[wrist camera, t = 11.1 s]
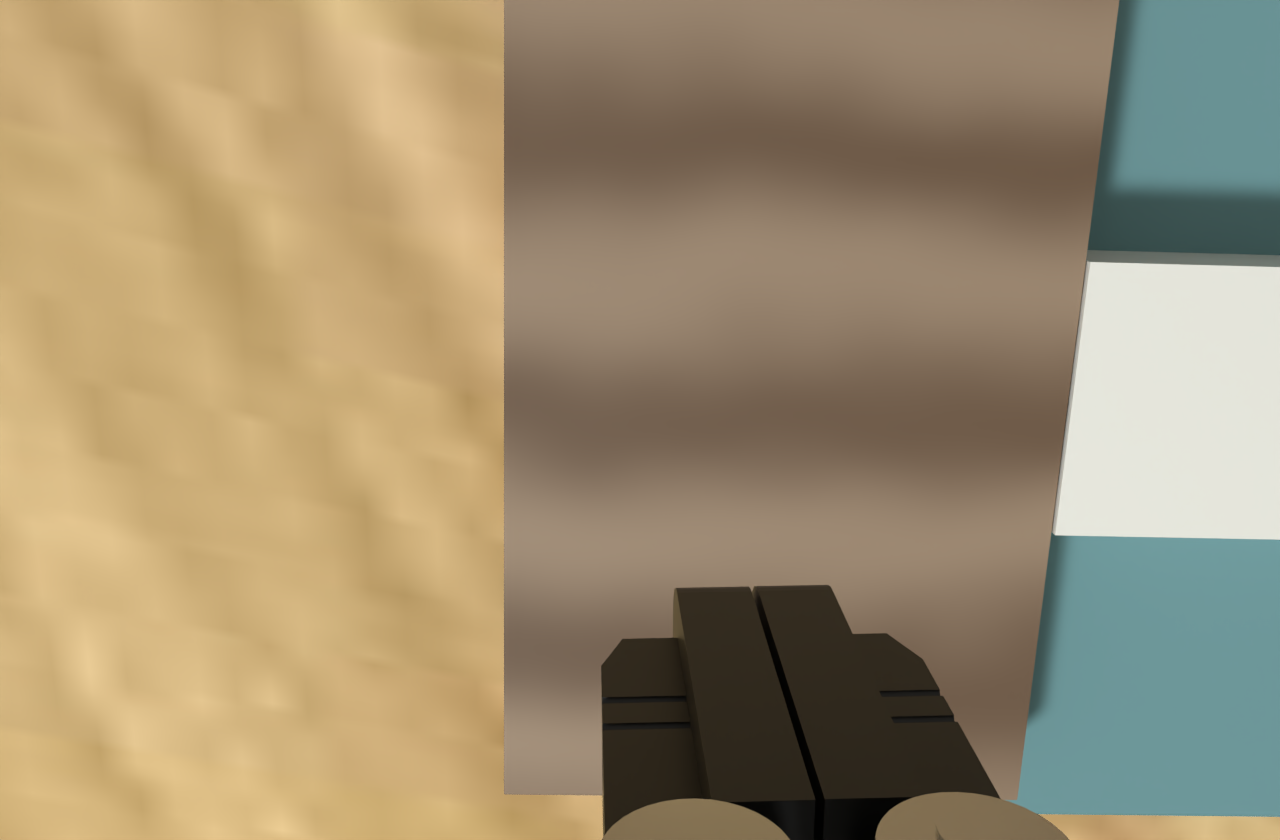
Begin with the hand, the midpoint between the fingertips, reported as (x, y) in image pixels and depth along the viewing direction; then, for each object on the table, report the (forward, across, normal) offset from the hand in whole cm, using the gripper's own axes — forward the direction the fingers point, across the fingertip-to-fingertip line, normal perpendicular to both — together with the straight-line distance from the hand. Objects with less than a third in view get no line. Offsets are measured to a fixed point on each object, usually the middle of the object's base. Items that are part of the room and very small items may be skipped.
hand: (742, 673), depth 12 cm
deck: (+21, -4, +3) cm, 21 cm away
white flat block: (+20, -16, +3) cm, 26 cm away
